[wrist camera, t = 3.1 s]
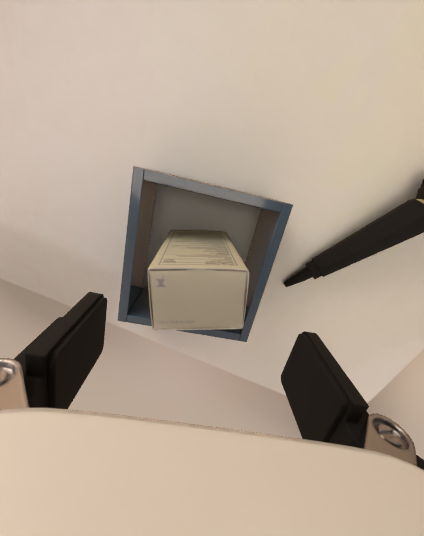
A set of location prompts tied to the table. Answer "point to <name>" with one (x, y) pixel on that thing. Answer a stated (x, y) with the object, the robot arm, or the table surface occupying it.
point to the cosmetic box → (197, 282)
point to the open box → (138, 233)
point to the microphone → (368, 240)
